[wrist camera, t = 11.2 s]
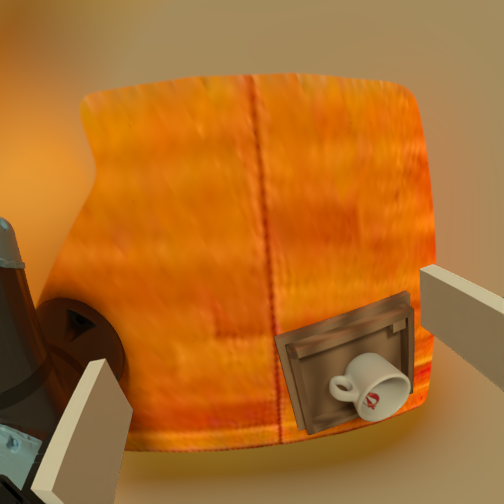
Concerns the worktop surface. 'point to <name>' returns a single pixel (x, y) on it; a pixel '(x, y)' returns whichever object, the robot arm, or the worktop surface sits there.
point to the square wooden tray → (343, 357)
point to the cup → (372, 387)
